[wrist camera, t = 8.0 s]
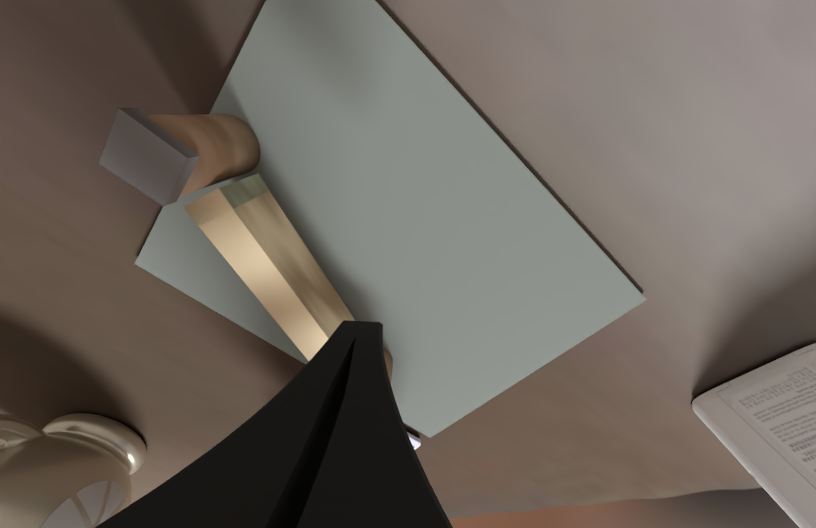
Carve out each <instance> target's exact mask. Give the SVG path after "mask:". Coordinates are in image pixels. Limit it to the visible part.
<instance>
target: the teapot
mask: <svg viewBox="0 0 816 528" xmlns="http://www.w3.org/2000/svg"><path fill="white" fill-rule="evenodd" d="M0 438H1V439H4V440H6V442H7V443H6V444H3V445H0V528H94V527H96V526H98V525H99V524H101V523H102V522H104V521H106V520H107V519H109V518H110V517H112V516H113V515H115V514H117V513H118V512H120V511H121V510H123V509H124V508H126V507H128V506H129V505H130V502H131V479H130V475H131V474H133V473H134V472H136V471H137V470H138V469H139V468H140V467H141V466H142V464H143V462H144V461H145V458H146V447H145V444H144V442H143V441H142V439H141V438H140V437H139V436H138V435H137V434H136V433H135V432H134V431H133V430H131V429H130V428H128V427H127V426H125V425H123V424H122V423H120V422H117V421H115V420H113V419H110V418H107V417H104V416H100V415H95V414H88V413H74V414H68V415H64V416H61V417H58V418H56V419H54V420H53V421H51V422H50V423H48V424H47V425H46V426H45V427H44V428H43V429H40V428H39V427H37V426H36V425H34V424H32V423H31V422H29V421H27V420H24V419H22V418H19V417H16V416H12V415H5V414H0Z"/></svg>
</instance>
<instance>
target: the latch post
mask: <svg viewBox="0 0 816 528" xmlns="http://www.w3.org/2000/svg"><path fill="white" fill-rule="evenodd" d="M260 155H261V150H260V144H259V141H258V138H257V136H256V134H255V133H254V131H253V130H252V129H251V127H250V126H249V125H248V124H247V123H245V122H244V121H243V120H241V119H239V118H238V117H235V116H232V115H228V114H169V115H145V114H143V113H142V112H141V111H139V110H138V109H137V108H119V109H118V112H117V114H116V117H115V120H114V123H113V125H112V128H111V131H110V134H109V136H108V139H107V142H106V145H105V147H104V150H103V153H102V156H101V159H100V161H99V164H100V165H101V166H103V167H104V168H106V169H107V170H109V171H110V172H112V173H114V174H115V175H117V176H118V177H120V178H121V179H123V180H124V181H126V182H127V183H129V184H130V185H132V186H133V187H135V188H136V189H138V190H139V191H141V192H142V193H144V194H145V195H147V196H148V197H150V198H151V199H153V200H154V201H156V202H157V203H159V204H160V205H162V206H163V207H164V206H166V205H169V204H172V203H175V202H177V200H178V198H179V196H182V195H185V194H188V193H191V192H194V191H197V190H200V189H203V188H205V187H208V186H211V185H214V184H217V183H220V182H223V181H225V180H228V179H231V178H234V177H237V176H240V175H243V174H245V173H248V172H250V171H252V170H253V169H254V168H255V167H256V166H257V164H258V163H259V160H260Z"/></svg>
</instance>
